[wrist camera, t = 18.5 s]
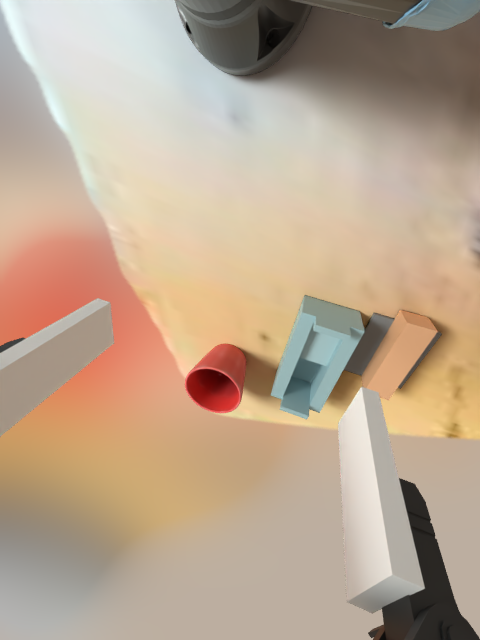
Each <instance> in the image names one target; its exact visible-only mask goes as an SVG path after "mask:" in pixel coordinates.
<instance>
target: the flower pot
mask: <svg viewBox="0 0 480 640" xmlns="http://www.w3.org/2000/svg"><path fill="white" fill-rule="evenodd" d="M245 371H246V358H245V355H244V354H243V352H242V351H241V350H240V349H238V348H237V347H235V346H233V345H230V344H220V345H218V346H216V347H214V348H213V349H212V350H211V351H210V352H209V353H208V354H207V355H206V356H205V357H204V358H203V359H202V360H201V361H200V362H199V363H198V364H197V365H196V366H195V367H194V368H193V369H192V370H191V371H190V372H189V374H188V375H187V377H186V380H185V388H186V391H187V393H188V395H189V397H190V398H191V399H192V400H193V401H194V402H195V403H196V404H197V405H199V406H200V407H202V408H203V409H205V410H208V411H211V412H215V413H228V412H231V411H233V410H234V409H236V408H237V407H238V405H239V404H240V402H241V398H242V393H243V386H244V379H245Z"/></svg>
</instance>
